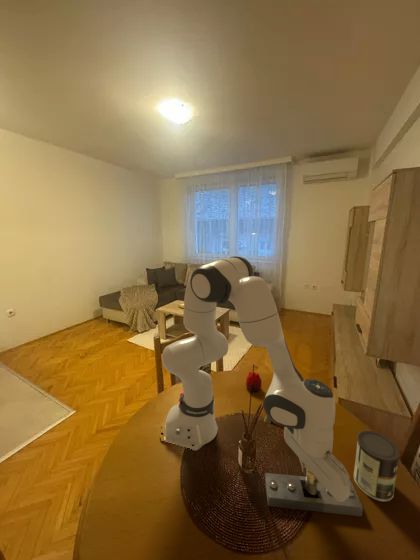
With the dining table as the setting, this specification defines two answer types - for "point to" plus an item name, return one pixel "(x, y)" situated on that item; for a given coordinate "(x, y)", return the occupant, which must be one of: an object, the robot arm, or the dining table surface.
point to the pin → (310, 482)
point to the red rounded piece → (253, 381)
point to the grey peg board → (290, 495)
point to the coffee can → (376, 465)
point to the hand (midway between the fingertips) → (311, 479)
